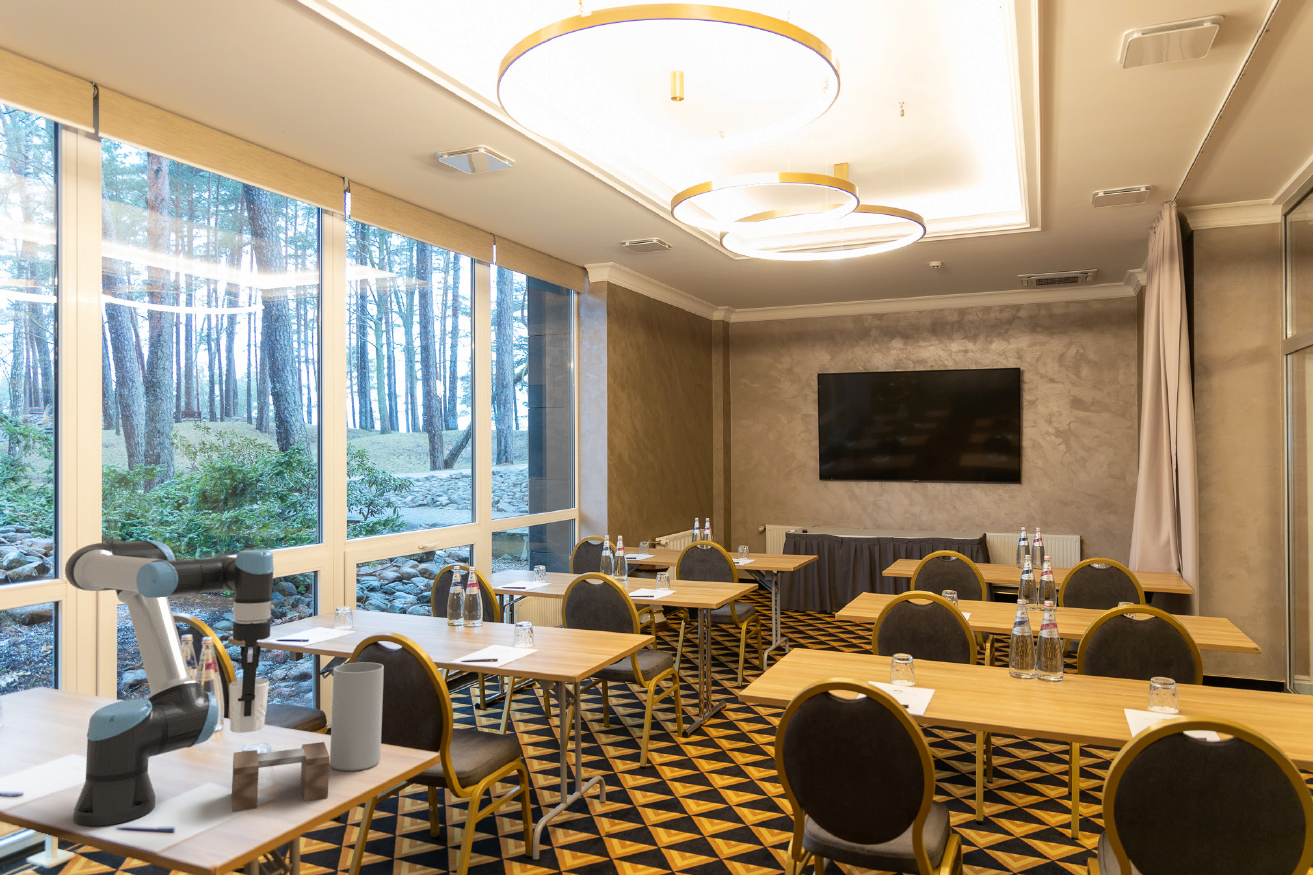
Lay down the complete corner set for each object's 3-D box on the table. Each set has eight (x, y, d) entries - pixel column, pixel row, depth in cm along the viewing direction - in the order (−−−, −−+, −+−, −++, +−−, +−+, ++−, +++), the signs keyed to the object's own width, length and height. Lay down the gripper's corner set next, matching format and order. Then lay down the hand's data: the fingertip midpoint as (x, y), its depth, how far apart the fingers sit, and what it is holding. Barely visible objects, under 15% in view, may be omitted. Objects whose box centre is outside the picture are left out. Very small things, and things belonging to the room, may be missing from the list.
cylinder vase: (361, 774, 210) (365, 674, 212) (319, 768, 214) (323, 670, 215) (389, 758, 222) (393, 664, 224) (349, 753, 226) (353, 660, 227)
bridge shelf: (232, 811, 185) (234, 768, 186) (231, 793, 196) (233, 752, 196) (327, 797, 194) (329, 756, 195) (322, 780, 205) (324, 741, 205)
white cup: (274, 724, 186) (276, 679, 186) (252, 734, 178) (254, 687, 178) (242, 722, 187) (244, 677, 187) (218, 732, 179) (221, 685, 180)
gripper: (270, 627, 176) (265, 736, 175) (271, 612, 195) (266, 711, 193) (230, 629, 173) (225, 740, 172) (235, 614, 192) (230, 714, 190)
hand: (247, 725), depth 182 cm, fingers closed on white cup, 8 cm apart
